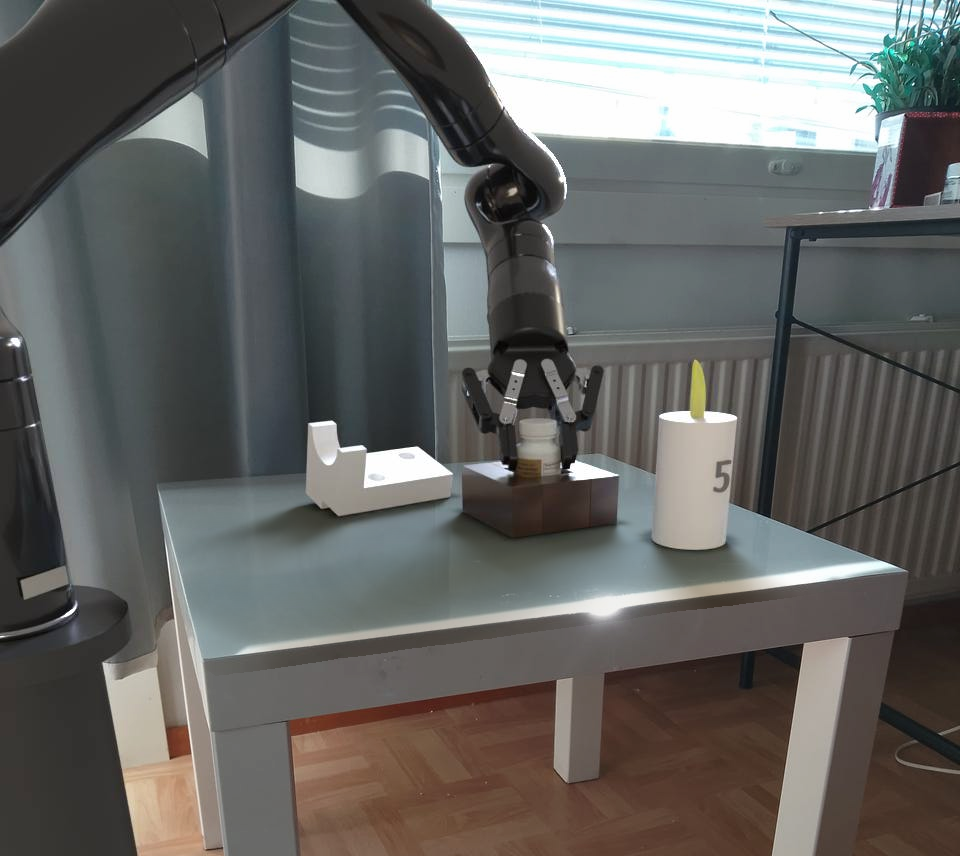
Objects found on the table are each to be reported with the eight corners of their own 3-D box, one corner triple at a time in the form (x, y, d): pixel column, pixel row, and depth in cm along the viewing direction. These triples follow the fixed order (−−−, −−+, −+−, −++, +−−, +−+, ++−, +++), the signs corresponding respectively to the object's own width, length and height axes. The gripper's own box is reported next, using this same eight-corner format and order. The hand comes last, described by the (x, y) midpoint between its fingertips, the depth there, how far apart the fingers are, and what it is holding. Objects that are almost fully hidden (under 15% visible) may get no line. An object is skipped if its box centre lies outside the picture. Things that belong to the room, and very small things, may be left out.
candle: (690, 554, 77) (705, 366, 71) (636, 537, 82) (646, 359, 76) (743, 542, 80) (761, 360, 74) (688, 526, 85) (701, 355, 79)
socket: (512, 538, 82) (512, 487, 80) (462, 511, 91) (461, 465, 89) (617, 523, 86) (619, 475, 84) (559, 499, 95) (560, 455, 94)
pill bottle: (504, 503, 88) (504, 420, 85) (537, 495, 91) (538, 415, 88) (535, 511, 85) (536, 426, 82) (569, 503, 88) (571, 420, 85)
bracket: (337, 524, 90) (342, 452, 86) (305, 493, 95) (308, 423, 90) (449, 505, 97) (458, 437, 93) (414, 476, 102) (421, 410, 97)
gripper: (454, 290, 87) (463, 443, 81) (604, 288, 88) (625, 439, 82) (453, 344, 94) (461, 489, 88) (592, 342, 95) (610, 485, 89)
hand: (540, 464), depth 85 cm, fingers closed on pill bottle, 4 cm apart
